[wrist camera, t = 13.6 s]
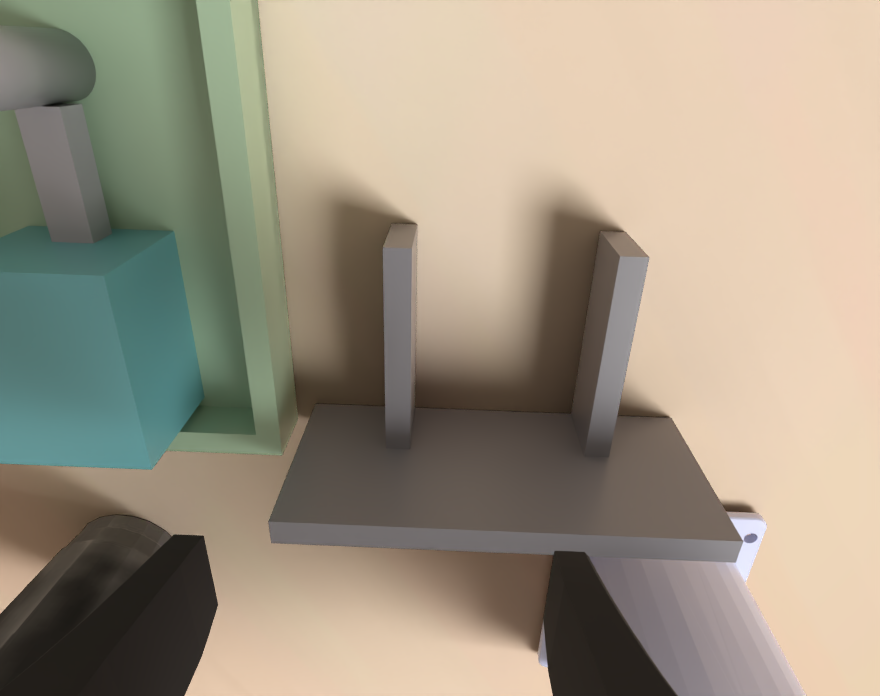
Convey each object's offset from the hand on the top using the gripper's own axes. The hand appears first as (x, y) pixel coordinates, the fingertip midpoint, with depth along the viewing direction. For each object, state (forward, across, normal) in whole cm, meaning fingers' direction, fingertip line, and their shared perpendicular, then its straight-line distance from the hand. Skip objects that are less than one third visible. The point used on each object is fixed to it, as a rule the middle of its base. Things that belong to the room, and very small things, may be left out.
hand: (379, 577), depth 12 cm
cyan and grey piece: (+9, +10, -4) cm, 14 cm away
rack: (+9, -3, -2) cm, 10 cm away
